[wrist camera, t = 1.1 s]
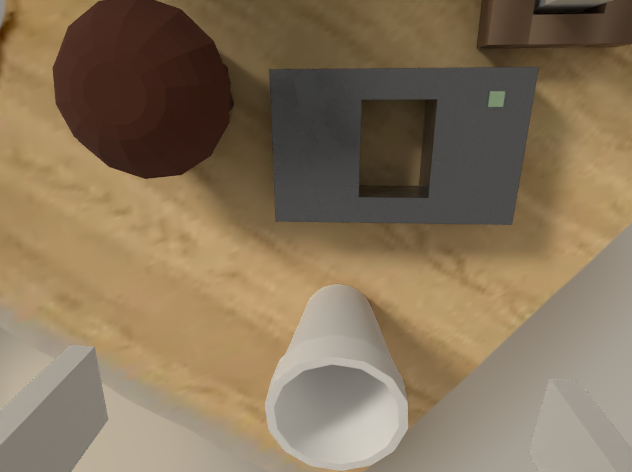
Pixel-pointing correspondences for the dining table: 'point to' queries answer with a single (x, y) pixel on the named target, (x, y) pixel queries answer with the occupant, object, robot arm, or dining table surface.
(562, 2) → the plug
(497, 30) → the brown wooden square frame
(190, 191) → the dining table surface
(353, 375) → the foam cup
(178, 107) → the muffin
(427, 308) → the dining table surface
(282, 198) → the switch box
